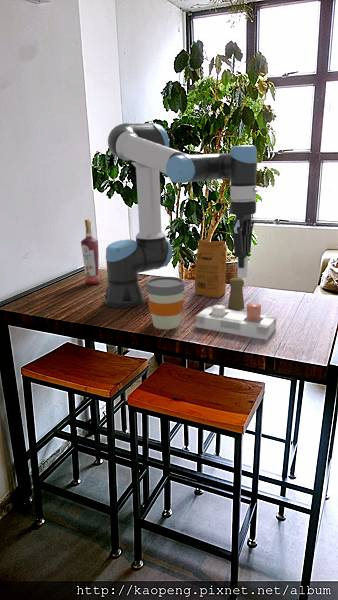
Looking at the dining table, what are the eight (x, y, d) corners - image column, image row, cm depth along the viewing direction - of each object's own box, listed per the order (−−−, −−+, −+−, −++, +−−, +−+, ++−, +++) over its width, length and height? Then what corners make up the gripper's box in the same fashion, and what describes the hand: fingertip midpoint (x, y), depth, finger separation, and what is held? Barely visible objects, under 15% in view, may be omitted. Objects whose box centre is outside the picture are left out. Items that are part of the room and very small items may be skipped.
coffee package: (201, 288, 190) (201, 236, 182) (229, 292, 184) (230, 238, 176) (190, 295, 181) (190, 241, 174) (218, 299, 175) (219, 243, 168)
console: (195, 327, 150) (195, 315, 149) (208, 317, 158) (208, 306, 157) (266, 339, 139) (267, 327, 137) (275, 328, 147) (276, 317, 146)
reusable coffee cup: (182, 332, 146) (181, 288, 141) (144, 330, 148) (142, 286, 143) (187, 318, 158) (186, 276, 153) (152, 316, 160) (150, 276, 155)
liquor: (104, 282, 202) (100, 219, 192) (94, 286, 196) (88, 221, 187) (92, 280, 205) (86, 218, 196) (81, 284, 199) (75, 220, 190)
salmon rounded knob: (244, 319, 143) (244, 306, 142) (249, 315, 147) (249, 302, 146) (257, 321, 141) (258, 308, 140) (262, 317, 145) (262, 304, 144)
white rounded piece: (209, 320, 150) (209, 308, 148) (215, 316, 153) (215, 304, 152) (222, 322, 148) (222, 310, 146) (227, 318, 151) (227, 306, 150)
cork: (244, 310, 164) (244, 281, 160) (227, 309, 165) (227, 280, 161) (244, 304, 169) (245, 276, 166) (228, 303, 171) (229, 275, 167)
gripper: (247, 203, 127) (246, 283, 134) (262, 198, 138) (261, 273, 145) (222, 202, 130) (223, 281, 138) (239, 198, 141) (238, 271, 148)
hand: (242, 277), depth 141 cm, fingers closed
